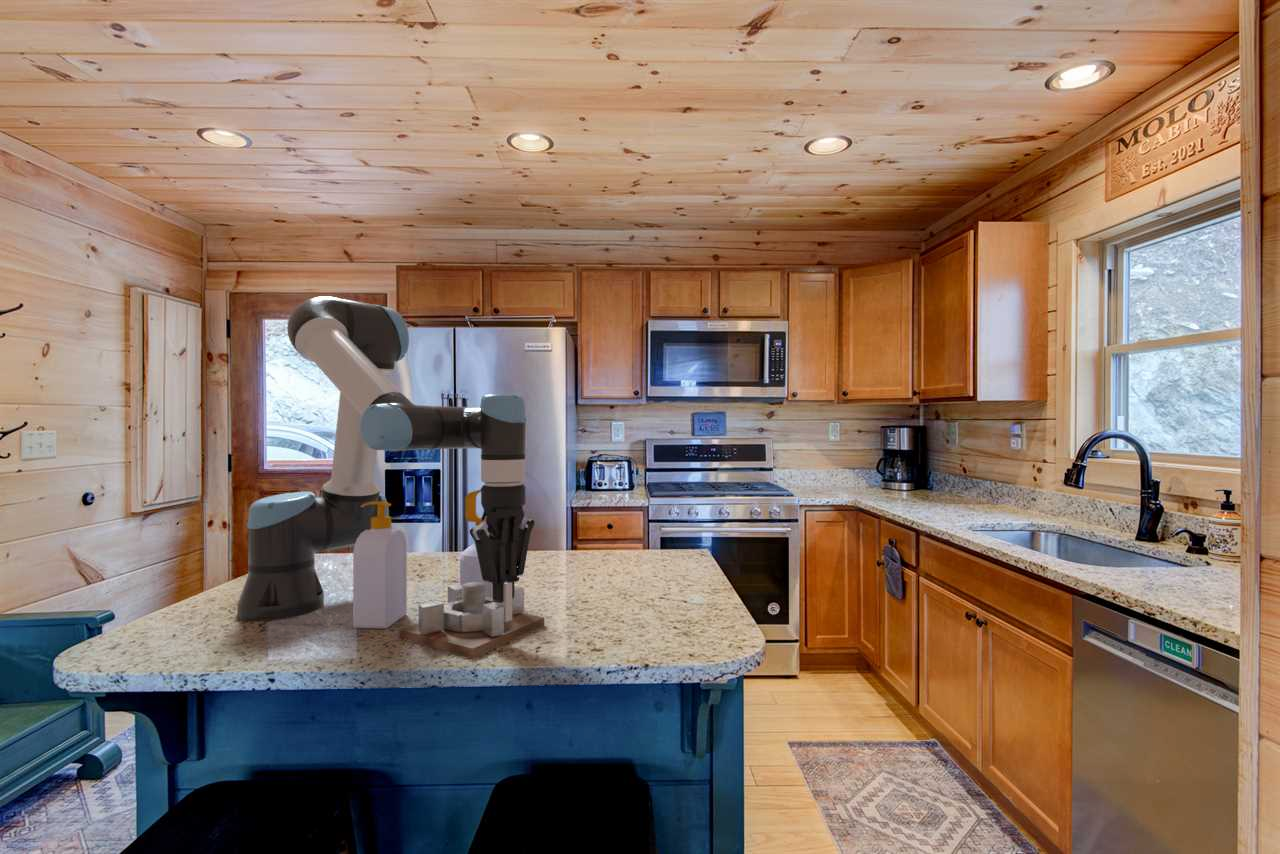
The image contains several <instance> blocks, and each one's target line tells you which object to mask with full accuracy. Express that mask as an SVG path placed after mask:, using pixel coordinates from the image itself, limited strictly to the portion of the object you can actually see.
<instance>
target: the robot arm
mask: <svg viewBox="0 0 1280 854" xmlns="http://www.w3.org/2000/svg"><path fill="white" fill-rule="evenodd" d="M409 334H410V333H409V329H408V326H407V323H406V321H404V317H403V316H402V315H401V313H399V312H398V311H396V310H395V309H393V308H390V307H386V306H382V305H378V304H374V303H373V304H372V303H366V302H361V301H355V300H350V299H345V298H338V297H335V296H334V297H333V296H316V297H311V298H309V299H306V300H304V301H302V302H301V303H299V304H298V305H297V306H296V307H295V308H294V310H293V311H292V312H291V314H290V316H289V318H288V322H287V336H288V339H289V341H290V343H291V345H292V347H293V348H294V350H296V352H297V353H298V354H299V355H300V356H301V357H302V358H303V359H305V360H307V361H309V362H311V363H314V364H315V365H316V366H317V367H318V368H319V370H320V371H321V372H322V373H324V375H325V376H326V377H327V379H329V381H330V382H331V383H332V384H333V385H334V386H335V387H336V389H337V390H338V391H339V399H338V410H337V420H336V430H335V441H334V449H333V456H332V468H331V477H330V479H329V480H328V481H327V482H325V483H324V484H323V485H322V488H321V489H322V490H321V496H317V497H316V496H315V493H314V492H313V491H297V492H296V491H294V492H287V493H280V494H275V495H269V496H267V497H263V498H260V499H258V500H255V501H254V502H252V503H251V505H250V507H249V509H248V520H247V523H246V526H247V545H248V546H247V555H248V556H247V562H248V563H247V566H248V567H247V569H248V570H247V577H246V580H245V582H244V585H243V588H242V591H241V594H240V596H239V598H238V601H237V606H236V607H237V609H236V611H237V617H238V618H239V619H242V620H248V621H268V620H269V621H270V620H279V619H287V618H293V617H296V616H301V615H305V614H308V613H312V612H314V611H316V610H318V609H319V608H320V609H321V608H322V607H323V606H324V603H325V593H324V590H323V587H322V584H321V581H320V579H319V576H318V573H317V570H316V567H315V556H316V555H315V554H316V553H319V552H326V551H331V550H337V549H344V548H352V547H353V548H354V546H355V543H356V540H357V538H358V537H359V535H360V534H361V533H362V532H363V531H365V530H370V529H371V518H372V517H377V504H369V505H366V506H364V507H361V505H363V504H365V503H369V502H377V501H382V502H387V503H388V501H387V499H386V497H385V496H384V495H383V493H381V488H380V486H379V485H378V484H377V483H376V482H375V475H376V474H375V473H376V466H377V464H376V463H377V456H378V451H388V452H400V451H401V452H402V451H417V450H447V449H449V450H450V449H451V450H452V449H453V450H454V449H455V450H456V449H459V450H460V449H480V450H481V451H480V452H481V453H480V481H481V482H482V483H484V484H483V485H482V486H481V487H480V489H481V492H480V504H481V507H482V508H483V513H482V516H481V517H482V519H481V521H482V522H481V523H480V524H479V525H478V526H476V527H471V528H470V529H469V534H470V536H471V537H472V539H473V542H474V541H475V545H476V550H477V555H478V560H479V564H480V569H481V574H482V579H483V580H484V581H487V582H491V583H492V584H493V601H494V602H495V604H498V605H501V606H503V607H504V622H508V621H510V620H512V599H513V598H514V586H515V582H516V583H517V582H519V581H520V577H519V576H523V574H524V573H525V567H526V562H527V557H528V556H527V555H528V549H529V543H530V537H531V532H532V531H533V528H534V525H535V520H534V519H530V518H528V517H526V516H525V511H524V508H523V507H524V506H525V505H526V486H525V484H523V483H524V482H525V481H526V422H527V418H526V406H525V405H526V404H525V400H524V398H523V396H521V395H518V394H504V393H503V394H495V393H494V394H493V393H492V394H485V395H483V396H482V397H481V399H480V405H479V406H477V407H475V406H473V407H472V406H466V407H465V406H442V405H440V406H439V405H438V406H437V405H419V404H414V403H413V402H412V401H411V400H410V399H409V398H407V396H405V394H404V393H403V392H402V391H400V389H399V388H398V387H397V386H396V385H395V384H394V383H393V382H392V381H391V380H390V379H389V378H388V377H387V376H389V374H391V373H392V372H394V371H395V365H396V364H395V363H397V362H399V361H401V360H403V359H404V357H405V354H407V353H408V350H409V345H410V336H409ZM389 508H390V507H385V516H390V510H389ZM488 535H489V537H488Z"/></svg>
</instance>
